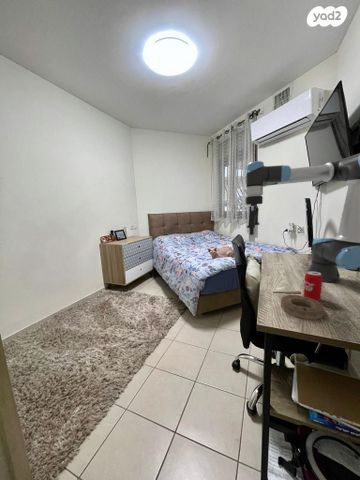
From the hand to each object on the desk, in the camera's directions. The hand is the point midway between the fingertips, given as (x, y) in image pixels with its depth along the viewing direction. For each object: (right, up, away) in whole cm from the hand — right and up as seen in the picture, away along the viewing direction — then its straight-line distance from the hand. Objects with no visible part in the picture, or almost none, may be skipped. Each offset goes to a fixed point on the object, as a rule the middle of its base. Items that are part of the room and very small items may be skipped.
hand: (253, 239), depth 95 cm
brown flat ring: (+12, -28, -19) cm, 36 cm away
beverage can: (+22, -27, -10) cm, 36 cm away
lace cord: (+15, -26, -4) cm, 30 cm away
